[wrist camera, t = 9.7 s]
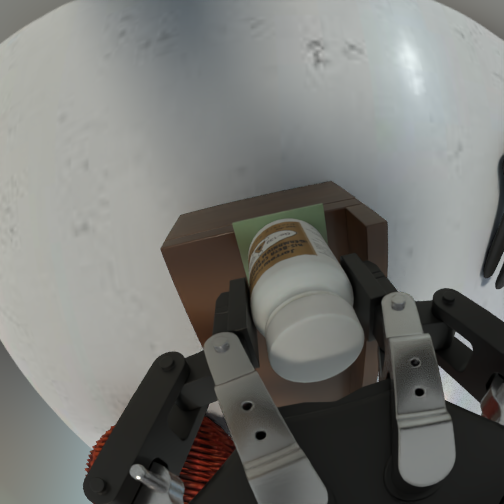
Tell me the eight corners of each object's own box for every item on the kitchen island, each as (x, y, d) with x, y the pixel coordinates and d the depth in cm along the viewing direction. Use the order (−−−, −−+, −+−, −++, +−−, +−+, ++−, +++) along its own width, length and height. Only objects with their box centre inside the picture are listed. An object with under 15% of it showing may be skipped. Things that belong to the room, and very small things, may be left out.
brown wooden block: (178, 209, 21) (140, 266, 13) (331, 174, 20) (387, 211, 12) (256, 412, 33) (260, 471, 25) (344, 394, 33) (361, 451, 24)
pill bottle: (278, 200, 15) (313, 278, 8) (338, 243, 16) (399, 332, 9) (232, 262, 16) (228, 368, 9) (292, 297, 17) (318, 400, 10)
